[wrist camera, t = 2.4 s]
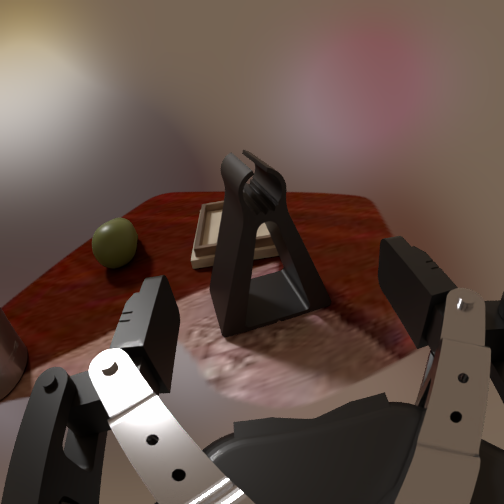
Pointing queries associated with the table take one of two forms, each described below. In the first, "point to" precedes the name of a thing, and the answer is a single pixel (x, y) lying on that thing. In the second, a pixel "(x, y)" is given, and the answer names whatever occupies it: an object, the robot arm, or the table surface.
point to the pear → (115, 243)
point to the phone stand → (243, 246)
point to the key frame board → (209, 235)
